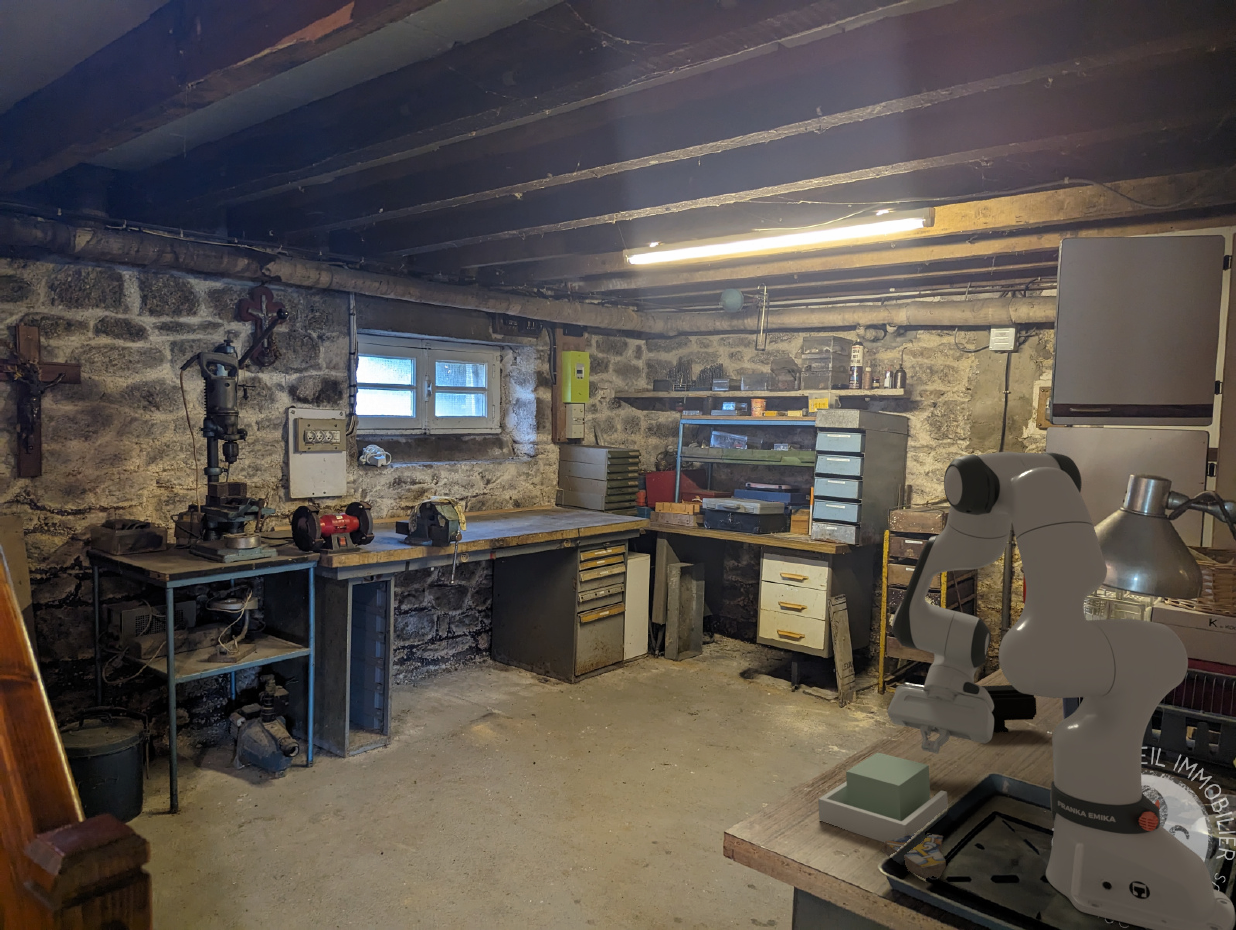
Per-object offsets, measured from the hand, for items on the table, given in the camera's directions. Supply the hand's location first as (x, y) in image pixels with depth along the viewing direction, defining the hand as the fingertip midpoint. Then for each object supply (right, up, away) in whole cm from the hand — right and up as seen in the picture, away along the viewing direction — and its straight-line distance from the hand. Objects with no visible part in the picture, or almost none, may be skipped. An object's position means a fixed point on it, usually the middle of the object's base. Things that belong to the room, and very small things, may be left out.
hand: (929, 750), depth 152 cm
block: (-12, -7, -12) cm, 19 cm away
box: (-14, -6, -15) cm, 22 cm away
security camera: (+26, -5, +27) cm, 37 cm away
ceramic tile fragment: (-15, -7, -31) cm, 35 cm away
